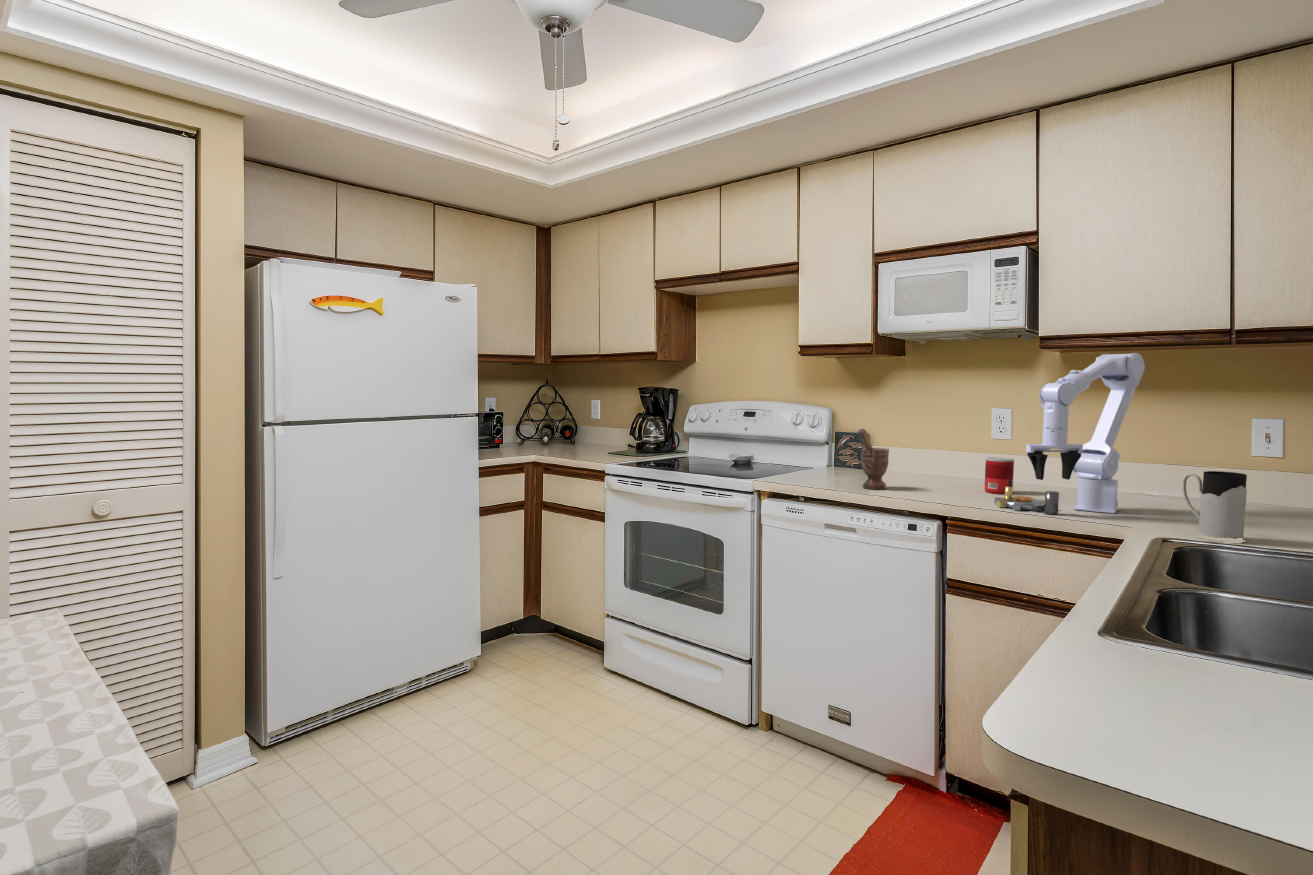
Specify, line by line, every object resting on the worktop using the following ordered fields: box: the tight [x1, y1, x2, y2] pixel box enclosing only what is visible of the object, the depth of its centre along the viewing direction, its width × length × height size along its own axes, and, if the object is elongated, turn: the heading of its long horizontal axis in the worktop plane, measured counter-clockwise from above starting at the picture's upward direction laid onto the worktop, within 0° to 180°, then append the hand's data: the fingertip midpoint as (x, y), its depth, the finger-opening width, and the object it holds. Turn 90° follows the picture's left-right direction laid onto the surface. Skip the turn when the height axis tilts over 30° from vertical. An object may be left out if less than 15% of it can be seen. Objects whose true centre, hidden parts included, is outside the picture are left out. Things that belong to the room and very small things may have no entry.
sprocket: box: [993, 486, 1045, 512], centre depth 193 cm, size 15×15×6 cm
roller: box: [1043, 490, 1060, 516], centre depth 183 cm, size 3×3×6 cm
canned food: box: [984, 456, 1015, 496], centre depth 217 cm, size 8×8×11 cm
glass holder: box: [1182, 470, 1248, 539], centre depth 157 cm, size 9×14×15 cm, turn 9°
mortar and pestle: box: [857, 428, 890, 491], centre depth 224 cm, size 12×9×20 cm
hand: (1052, 479), depth 182 cm, fingers open, 7 cm apart
